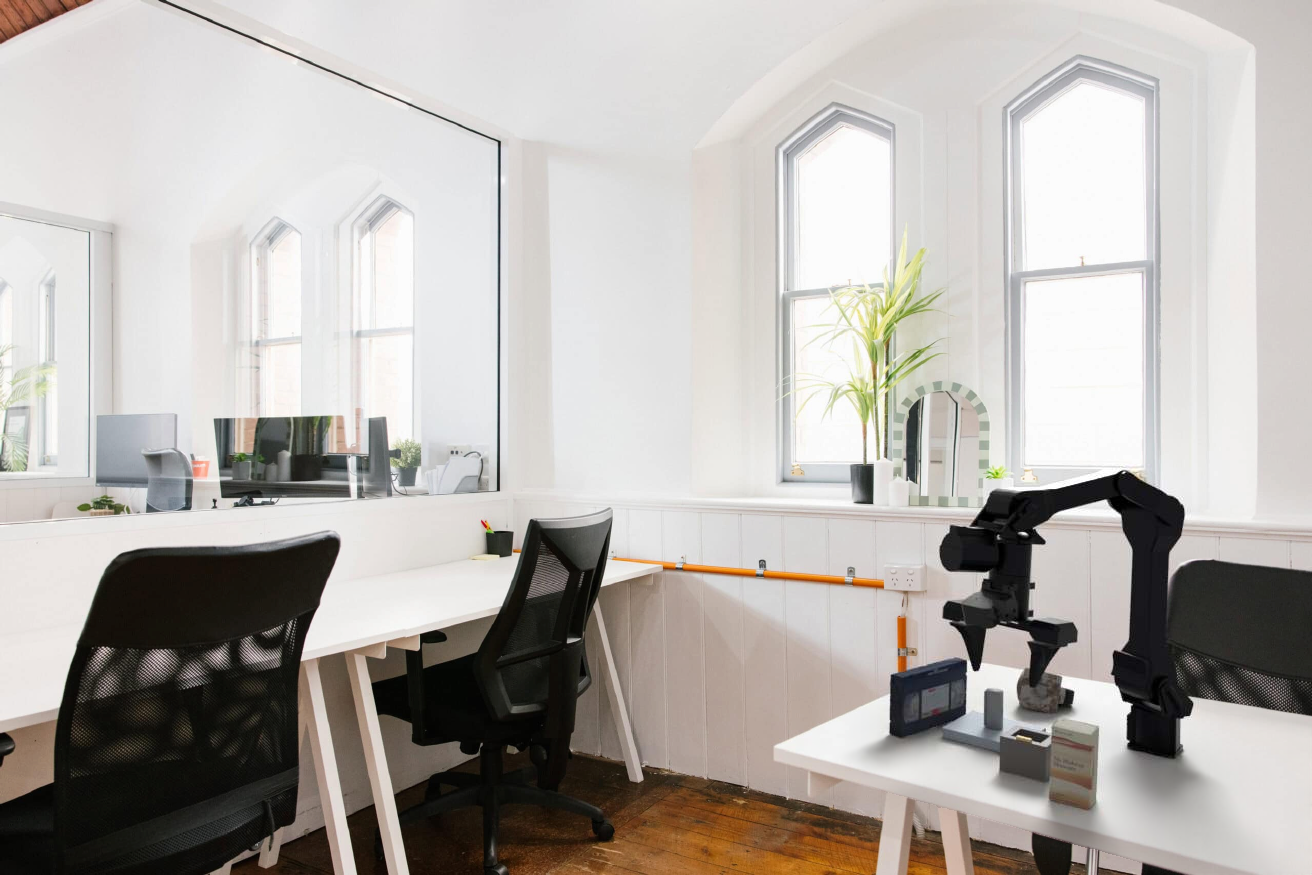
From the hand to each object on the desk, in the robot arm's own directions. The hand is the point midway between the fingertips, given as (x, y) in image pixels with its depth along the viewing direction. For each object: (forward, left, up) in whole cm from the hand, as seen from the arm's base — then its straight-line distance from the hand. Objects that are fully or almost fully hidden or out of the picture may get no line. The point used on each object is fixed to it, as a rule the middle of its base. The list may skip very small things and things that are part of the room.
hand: (1003, 678), depth 124 cm
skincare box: (-12, +6, -13) cm, 18 cm away
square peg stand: (+5, -10, -13) cm, 17 cm away
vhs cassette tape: (+15, -8, -13) cm, 21 cm away
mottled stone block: (+5, -34, -13) cm, 36 cm away
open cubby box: (-4, 0, -13) cm, 13 cm away
